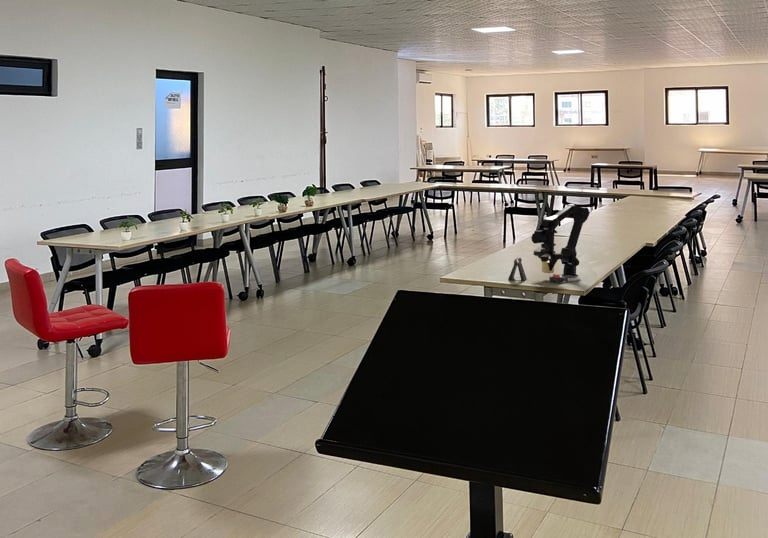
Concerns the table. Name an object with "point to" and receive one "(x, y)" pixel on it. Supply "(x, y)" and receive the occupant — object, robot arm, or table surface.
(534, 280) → the table surface
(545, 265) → the billet
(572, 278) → the ball holder tray
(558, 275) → the red rounded part
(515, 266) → the phone stand
